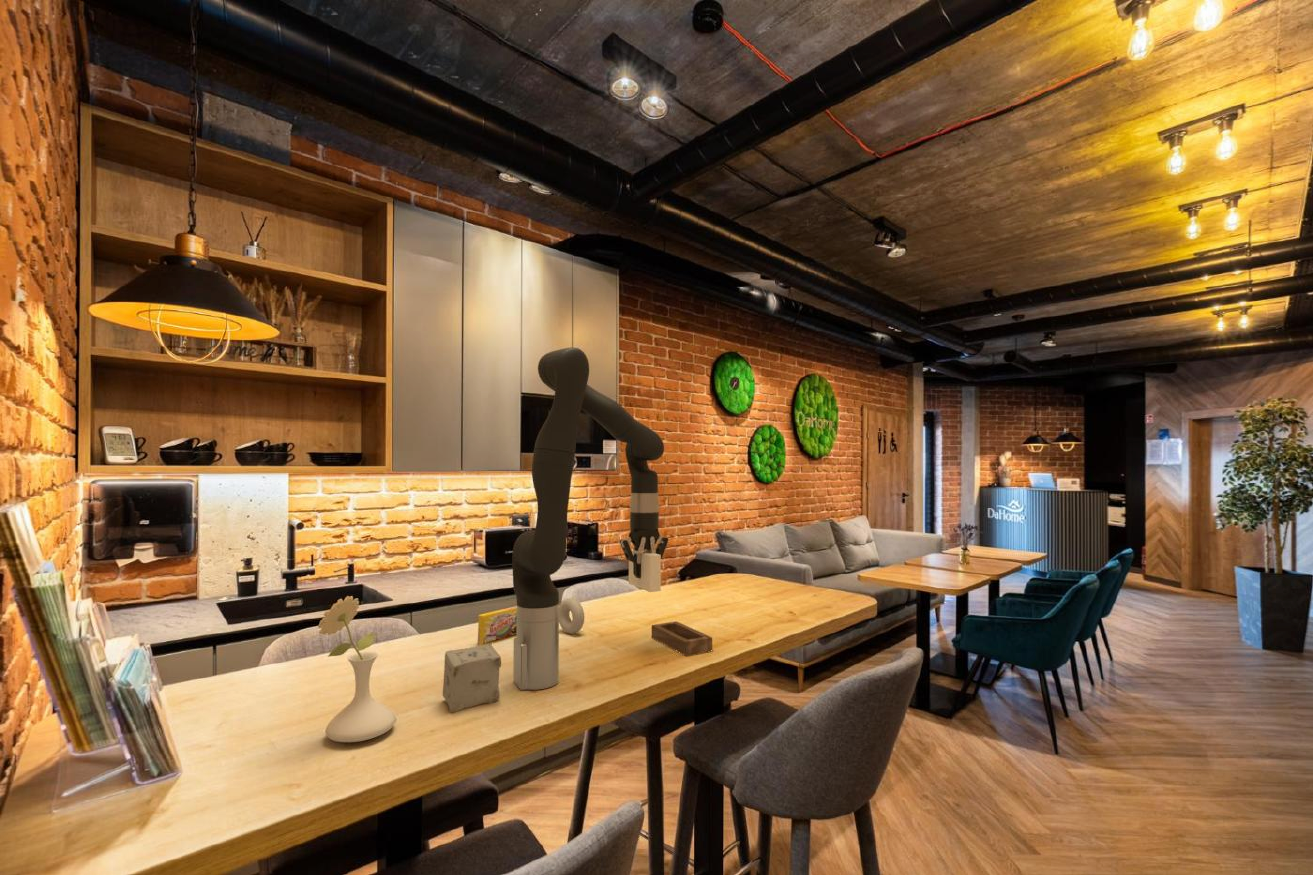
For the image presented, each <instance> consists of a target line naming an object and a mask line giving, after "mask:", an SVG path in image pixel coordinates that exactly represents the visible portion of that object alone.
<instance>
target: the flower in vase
mask: <svg viewBox="0 0 1313 875" xmlns="http://www.w3.org/2000/svg"><path fill="white" fill-rule="evenodd" d="M359 604H360V601H359V598H354V597H353V595H351V596H349V595H347V596H346V597H344V600H343V599H342V598H340V599H338V600H337V602H336V603H333V605H332V606H331V608H330V609H329V610H325V612H324V613H323V616H324V617H323V618H322V619H320V621H319V624H318V625H317V628H318V629H320V630H318V631H319V632H318V634H321V635H323V636H325V635H327V636H331V635H335V634H336V633H338V632H339V631H341V630H343V629H344V627H346V630H347V633H348V637H349V640H350V642H342V643H340V644H338V645H337V646H335V647H334V648H333V649H332V650H331V652H330V653H329V654H328V655H327V656H328V657H340V656H343V655H344V654H345V653H347V651H349V649H350V648H351V647H352V648H353V650H355V652H356V653H353V654H351V655H349V656H348V657H347V661H348V662H349V663H350V665H351V666H352V668H353V674H354V678H355V679H354V680H355V689H354V696H353V699H352V700H351V701H350V702H349V703H348V704H347V705H346V706H345V707H344V708H343V709H342V710H340V711H339V712H338V713H337V714H336V715H335V716H334V717H333V718H332V719H331V720H330V722H328V724H327V726H326V728H325V736H327V738H328V739H330V740H332V741H334V742H339V743H357V742H364V741H368V740H371V739H374V738H376V737H379V736H381V735H383V734H385V733H387V732H389V731H390V730H391V729H392V728H393V727H394V725H395V723H396V722H397V717H396V714H395V712H394V711H393V710H391V708H389V707H388V706H386V705H385V704H383V703H381V702H379V701H378V700H376V699H374V697H372V695H371V693H370V678H371V672H372V668H373V664H374V663H375V661H376V659H377V658H378V657H379V653H377V652H375V651H363V650H365V649H367V648H369V647H371V646H372V645H373V644H374V641H375V633H374V631H372V632H371V633H369V634H367V635H366V636H364V637H363V638H361V639H359V640H358V642H357V643H356V644H355V643H354V641H353V638H352V634H351V630H350V628H349V624H350V623H351V621H352V620H353V619H354V618H355V616H357V614H358V612H359V611H358V609H359V607H360V605H359ZM356 645H357V646H356ZM360 651H363V652H360Z"/></svg>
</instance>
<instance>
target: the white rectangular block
mask: <svg viewBox="0 0 1313 875" xmlns="http://www.w3.org/2000/svg"><path fill="white" fill-rule="evenodd" d="M631 551H632V553H633V548H632V549H631ZM661 561H662V559H661V555H659V554H655V553H651V552H647V551H646V550H643V554H642V555H641V563H640V564H641V578H636V577H635V575H634V574H633V562H631V561H628V584H629V585H631V586H634V587H635V588H639V589H642V590H643V591H646V592H648V593H655V592H661V591H662V590H661V588H662V587H661V583H662V582H661V581H662V580H661V574H662V573H661V566H662V565H661V563H662V562H661Z"/></svg>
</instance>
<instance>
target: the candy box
mask: <svg viewBox="0 0 1313 875" xmlns="http://www.w3.org/2000/svg"><path fill="white" fill-rule="evenodd" d="M477 626H478V627H477V644H476V646H481V645H487V644H491V645H492V643H493V644H495V643H499V642H502V641H503V642H504V641H506V640H509V639H514V638H517V605H515V606H512V607H506V608H503V609H498V610H493V611H490V612H485V613H482V614H478V625H477Z"/></svg>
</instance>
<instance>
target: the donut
mask: <svg viewBox="0 0 1313 875" xmlns="http://www.w3.org/2000/svg"><path fill="white" fill-rule="evenodd" d="M570 612H571V614H572V615H571V614H570ZM570 615H571V616H572V619H571V617H570ZM584 624H585V611H584V608H583V606H582V604H581V603H580V602H579V601H578V599H575V598H574V597H567V598H565V599H563V600H562V601H561V603H559V627H560V628H561V629H562V630H563V631H564V632H565V633H567V634H569V635H575V634H577V633H579V632H580V631H581V629H583V626H584Z"/></svg>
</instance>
